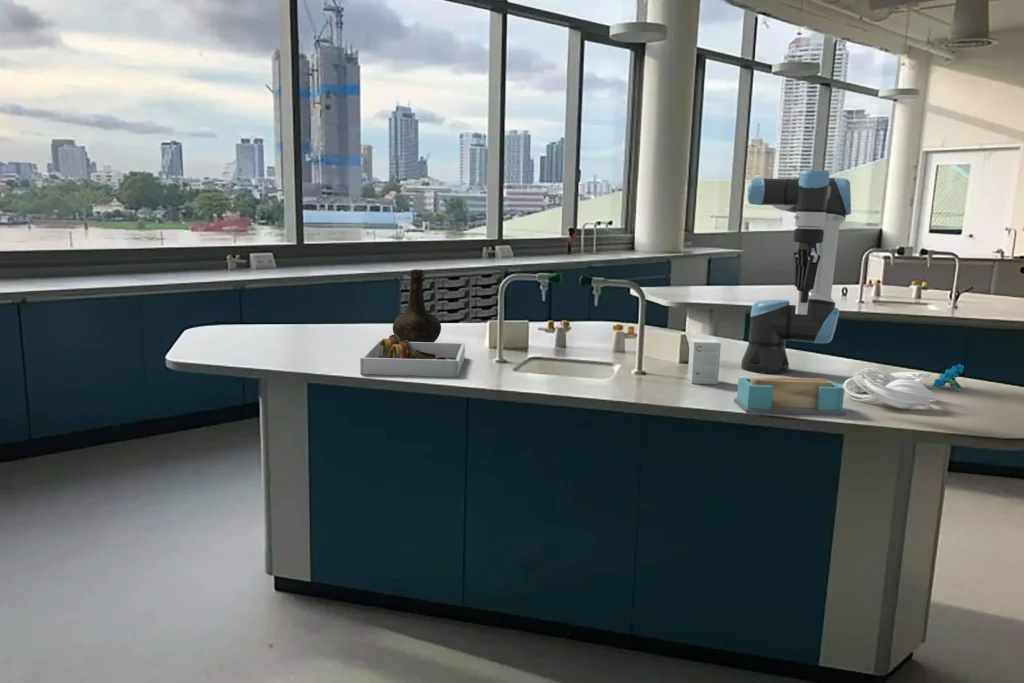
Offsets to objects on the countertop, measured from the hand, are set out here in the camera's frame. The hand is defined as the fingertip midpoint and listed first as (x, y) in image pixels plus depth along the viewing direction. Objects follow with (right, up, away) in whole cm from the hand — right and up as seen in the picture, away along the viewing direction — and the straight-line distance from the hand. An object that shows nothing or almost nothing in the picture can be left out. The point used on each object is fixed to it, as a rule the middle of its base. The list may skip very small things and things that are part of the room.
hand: (801, 313), depth 209 cm
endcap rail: (-6, -26, -5) cm, 27 cm away
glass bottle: (-115, -9, +70) cm, 135 cm away
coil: (+26, -25, +5) cm, 37 cm away
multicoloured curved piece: (-110, -16, +36) cm, 117 cm away
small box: (-22, -20, +23) cm, 38 cm away
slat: (-6, -25, -6) cm, 26 cm away
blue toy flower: (+54, -22, +23) cm, 63 cm away
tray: (-111, -15, +36) cm, 118 cm away
